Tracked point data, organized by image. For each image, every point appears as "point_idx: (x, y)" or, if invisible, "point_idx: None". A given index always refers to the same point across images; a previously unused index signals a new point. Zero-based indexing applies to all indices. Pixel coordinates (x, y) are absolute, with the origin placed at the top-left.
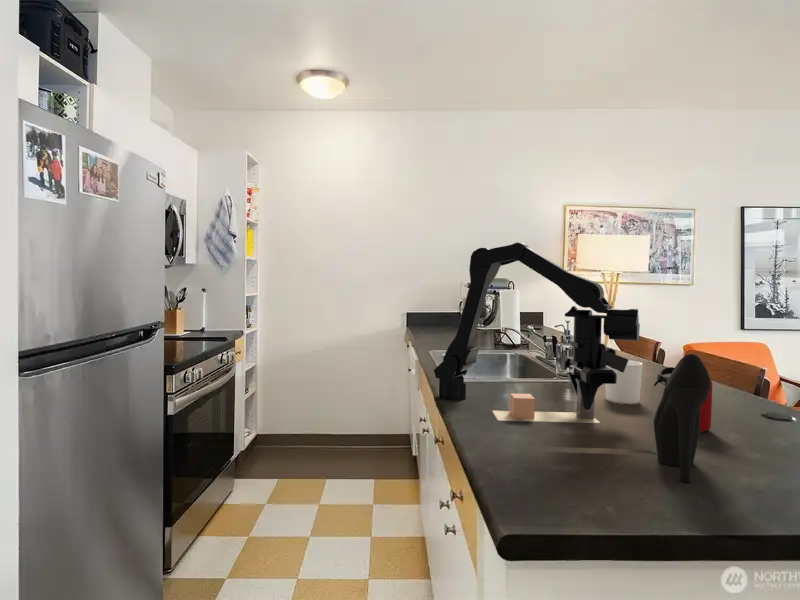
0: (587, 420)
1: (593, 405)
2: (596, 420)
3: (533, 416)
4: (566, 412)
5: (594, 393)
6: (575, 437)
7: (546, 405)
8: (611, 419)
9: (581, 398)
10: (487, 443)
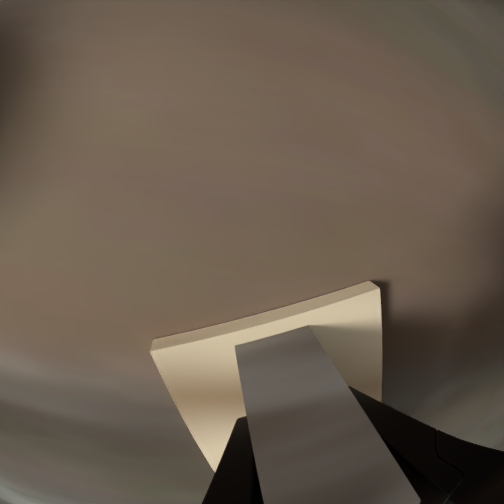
0: (343, 356)
1: (342, 383)
2: (334, 310)
3: None
4: (200, 443)
5: (453, 445)
6: (482, 361)
7: (57, 462)
8: (168, 192)
9: None
10: None
